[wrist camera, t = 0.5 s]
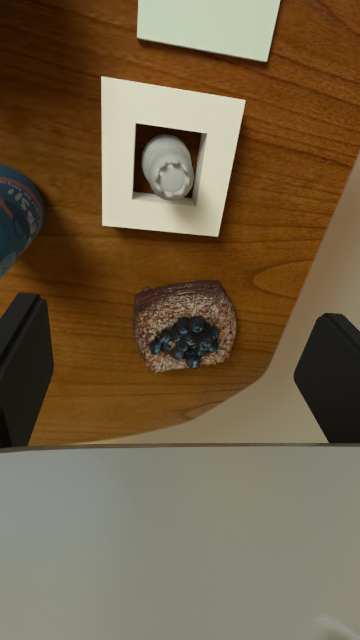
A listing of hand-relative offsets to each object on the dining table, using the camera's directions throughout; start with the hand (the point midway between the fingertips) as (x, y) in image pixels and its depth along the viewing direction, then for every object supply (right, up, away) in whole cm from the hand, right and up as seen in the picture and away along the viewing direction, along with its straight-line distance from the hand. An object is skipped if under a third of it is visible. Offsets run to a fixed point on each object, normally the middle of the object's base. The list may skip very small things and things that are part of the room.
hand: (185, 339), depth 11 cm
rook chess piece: (-1, +15, +17) cm, 23 cm away
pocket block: (-1, +15, +17) cm, 23 cm away
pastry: (0, +1, +28) cm, 28 cm away
